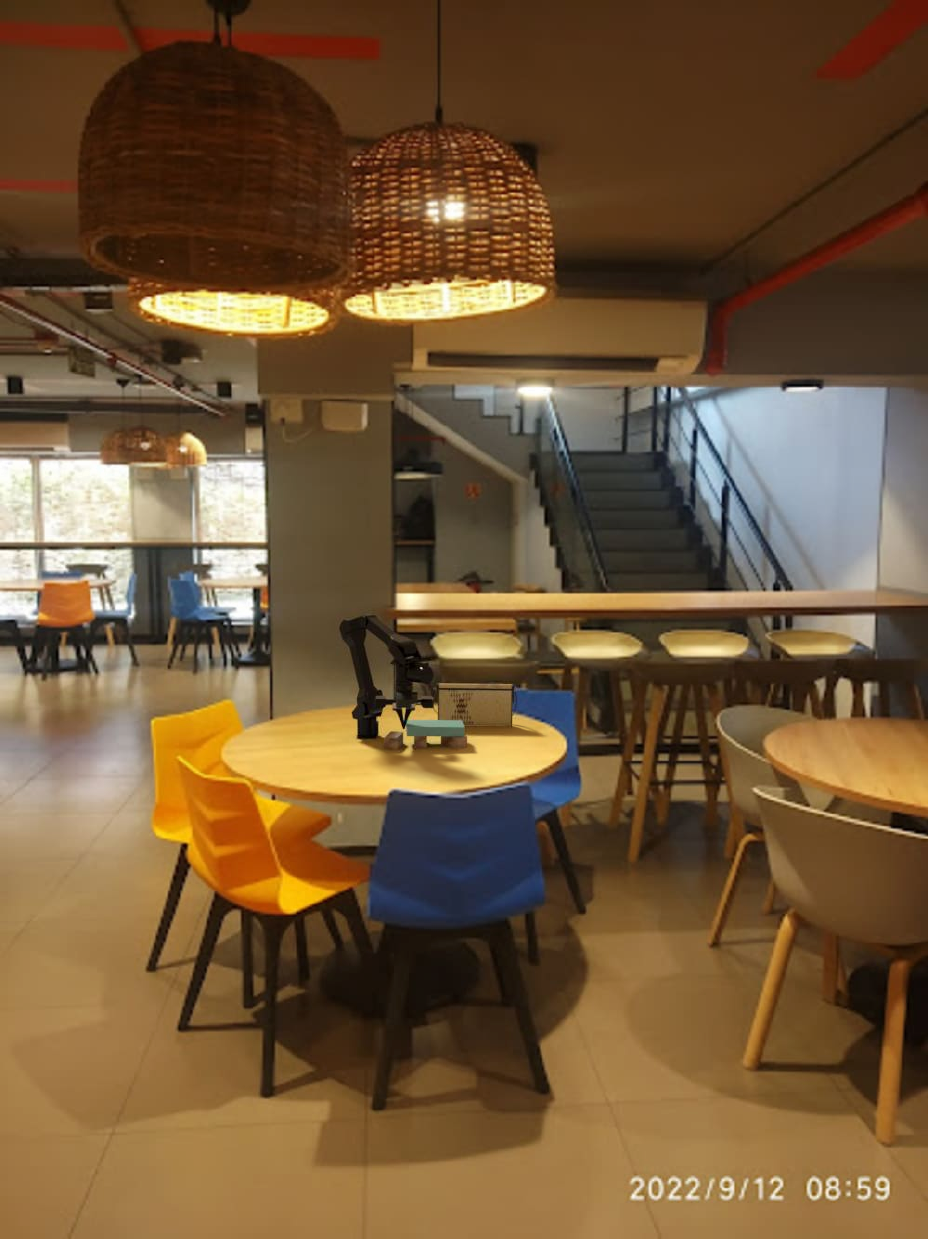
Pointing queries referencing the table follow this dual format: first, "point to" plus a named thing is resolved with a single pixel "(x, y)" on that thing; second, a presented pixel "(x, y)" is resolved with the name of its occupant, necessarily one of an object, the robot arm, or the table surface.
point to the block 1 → (393, 740)
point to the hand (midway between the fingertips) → (403, 728)
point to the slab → (435, 728)
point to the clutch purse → (476, 703)
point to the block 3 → (454, 742)
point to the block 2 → (420, 742)
